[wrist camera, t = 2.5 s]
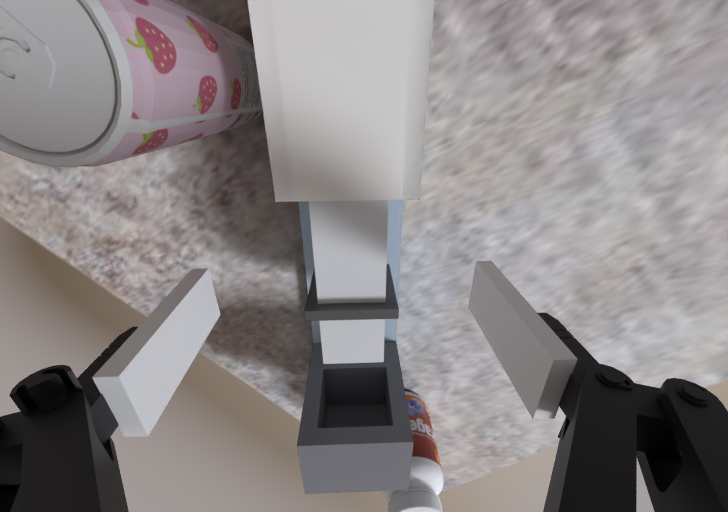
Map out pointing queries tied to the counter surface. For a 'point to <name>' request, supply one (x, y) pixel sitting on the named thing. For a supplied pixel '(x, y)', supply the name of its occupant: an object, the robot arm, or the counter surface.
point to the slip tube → (351, 279)
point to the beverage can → (117, 79)
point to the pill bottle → (419, 465)
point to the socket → (355, 426)
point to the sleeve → (344, 96)
